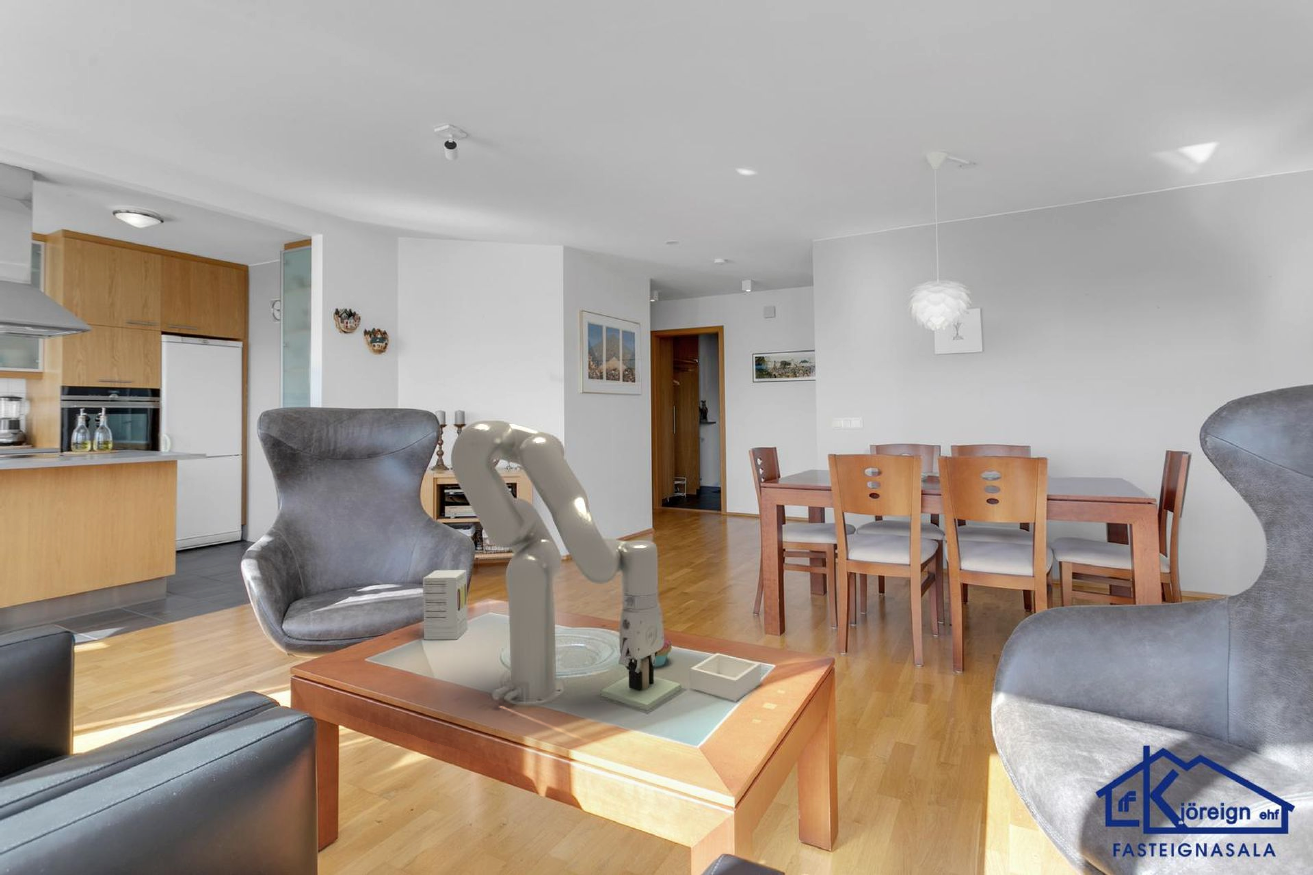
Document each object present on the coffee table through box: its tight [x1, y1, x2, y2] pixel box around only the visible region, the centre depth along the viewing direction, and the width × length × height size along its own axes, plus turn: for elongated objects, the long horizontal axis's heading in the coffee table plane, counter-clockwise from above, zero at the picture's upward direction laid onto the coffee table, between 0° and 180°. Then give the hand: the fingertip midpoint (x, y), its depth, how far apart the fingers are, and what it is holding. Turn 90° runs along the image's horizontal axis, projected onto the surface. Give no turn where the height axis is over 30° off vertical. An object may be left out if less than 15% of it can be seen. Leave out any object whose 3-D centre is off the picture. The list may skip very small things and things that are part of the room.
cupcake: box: [653, 636, 673, 667], centre depth 153 cm, size 9×8×12 cm
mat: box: [594, 686, 688, 715], centre depth 137 cm, size 14×14×1 cm
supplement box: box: [422, 569, 469, 641], centre depth 177 cm, size 10×9×17 cm
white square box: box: [689, 652, 762, 703], centre depth 139 cm, size 11×11×5 cm
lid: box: [600, 657, 682, 711], centre depth 136 cm, size 12×12×7 cm
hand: (641, 684), depth 136 cm, fingers closed on lid, 3 cm apart
